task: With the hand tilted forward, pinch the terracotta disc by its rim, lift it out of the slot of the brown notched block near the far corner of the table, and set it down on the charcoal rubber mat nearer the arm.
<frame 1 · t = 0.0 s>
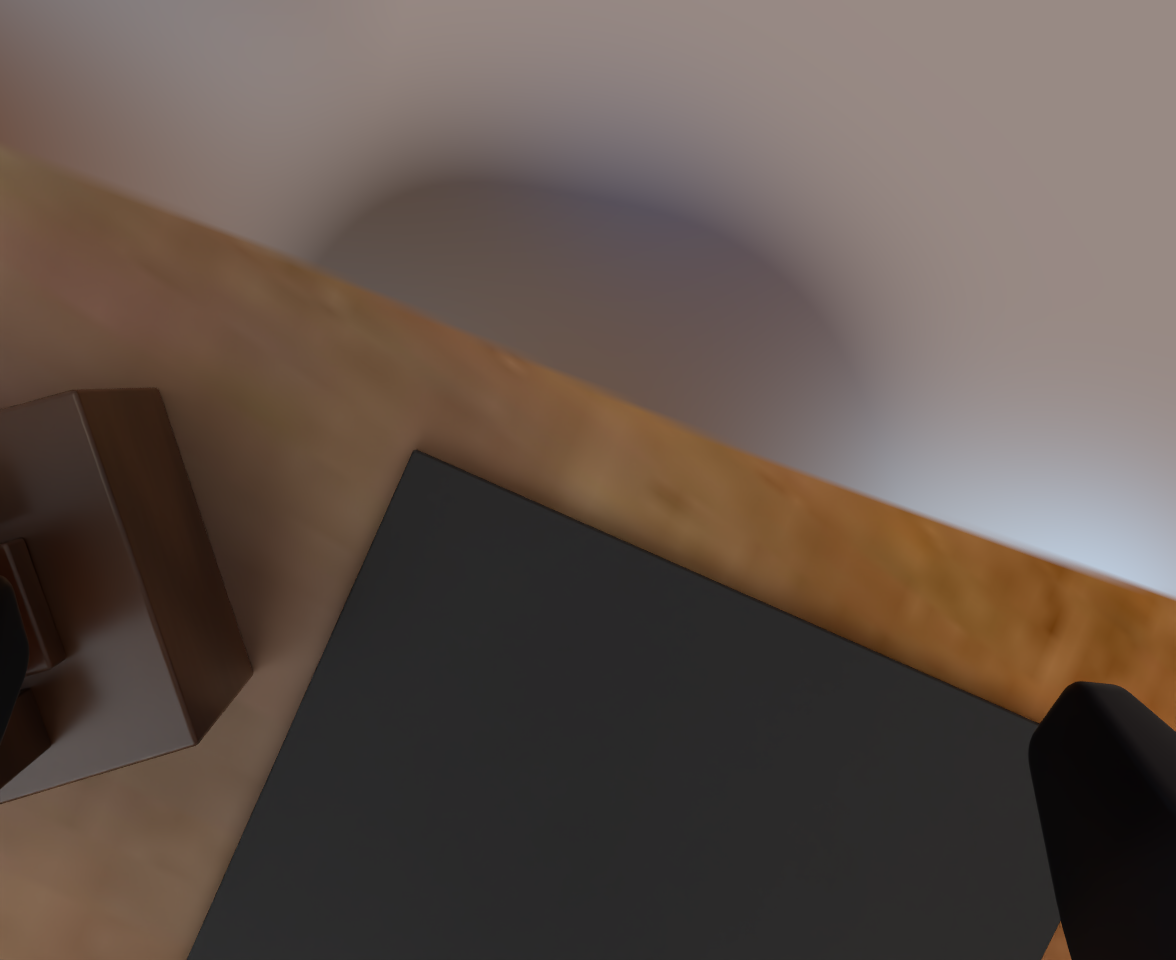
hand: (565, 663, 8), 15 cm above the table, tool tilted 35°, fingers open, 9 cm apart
mat: (672, 865, 24), on the table
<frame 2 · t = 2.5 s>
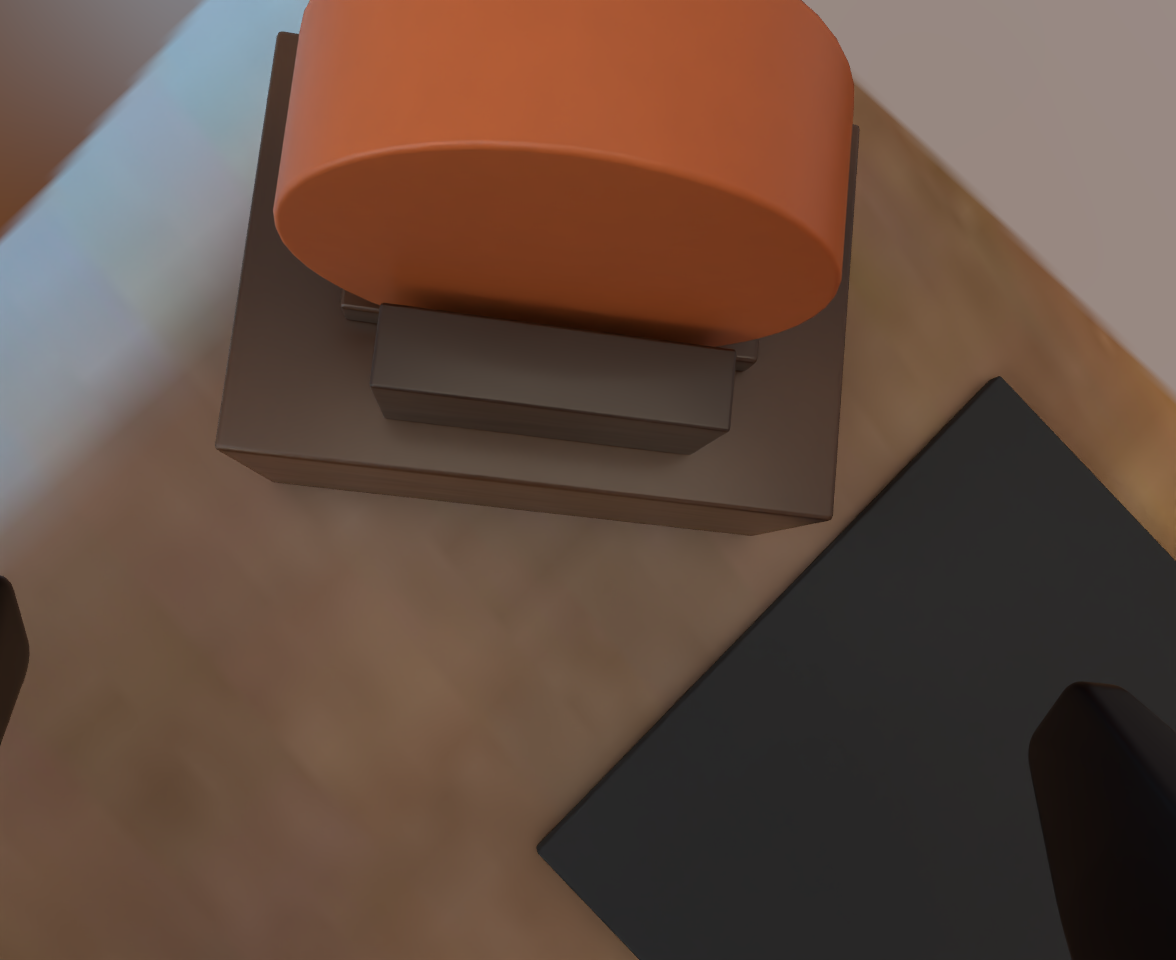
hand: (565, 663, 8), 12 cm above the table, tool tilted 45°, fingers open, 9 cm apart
disc: (557, 276, 16), point 5 cm above the table, touching brown notched block
brown notched block: (537, 344, 21), on the table
mat: (1102, 943, 21), on the table
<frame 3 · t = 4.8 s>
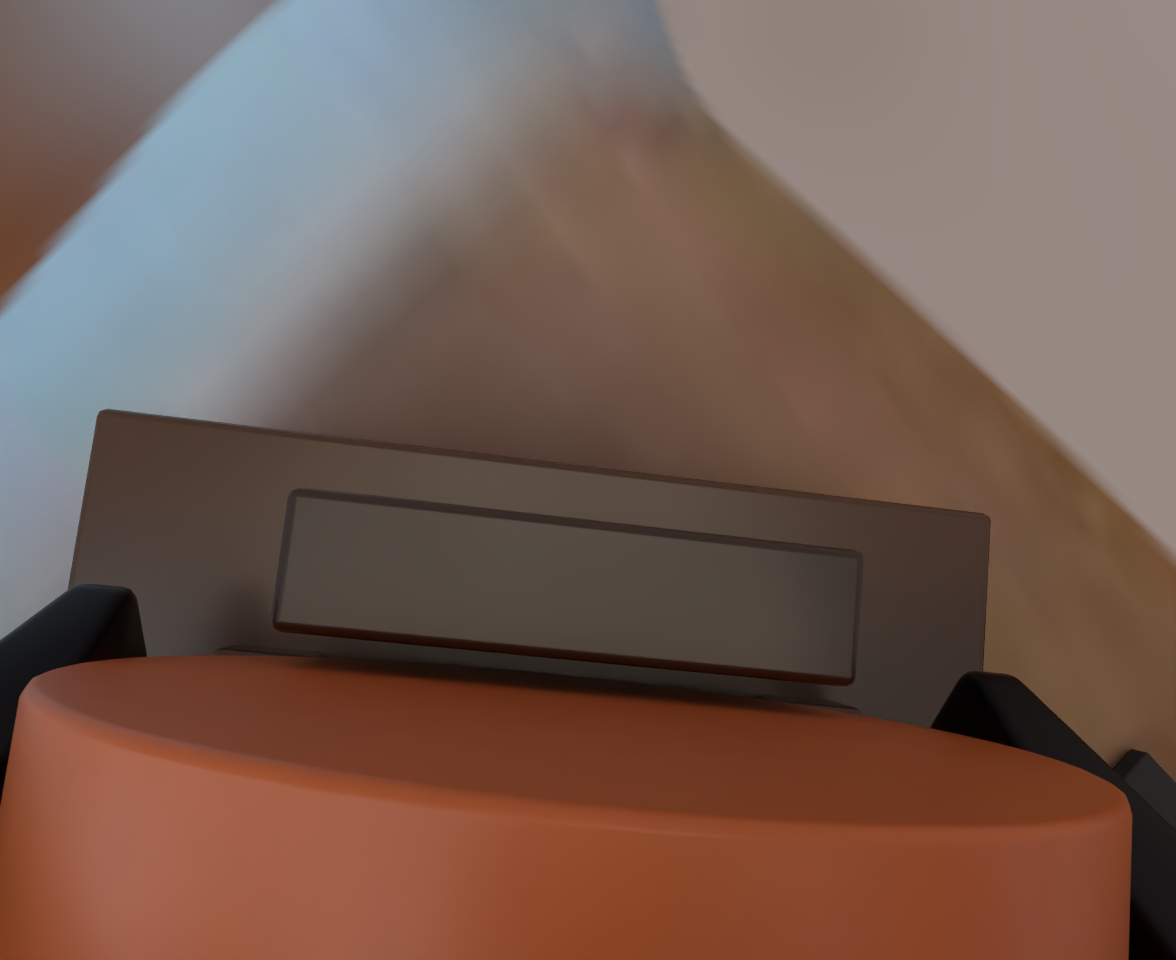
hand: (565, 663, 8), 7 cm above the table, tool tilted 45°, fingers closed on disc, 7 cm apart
disc: (530, 787, 10), point 5 cm above the table, touching gripper, brown notched block
brown notched block: (512, 729, 15), on the table
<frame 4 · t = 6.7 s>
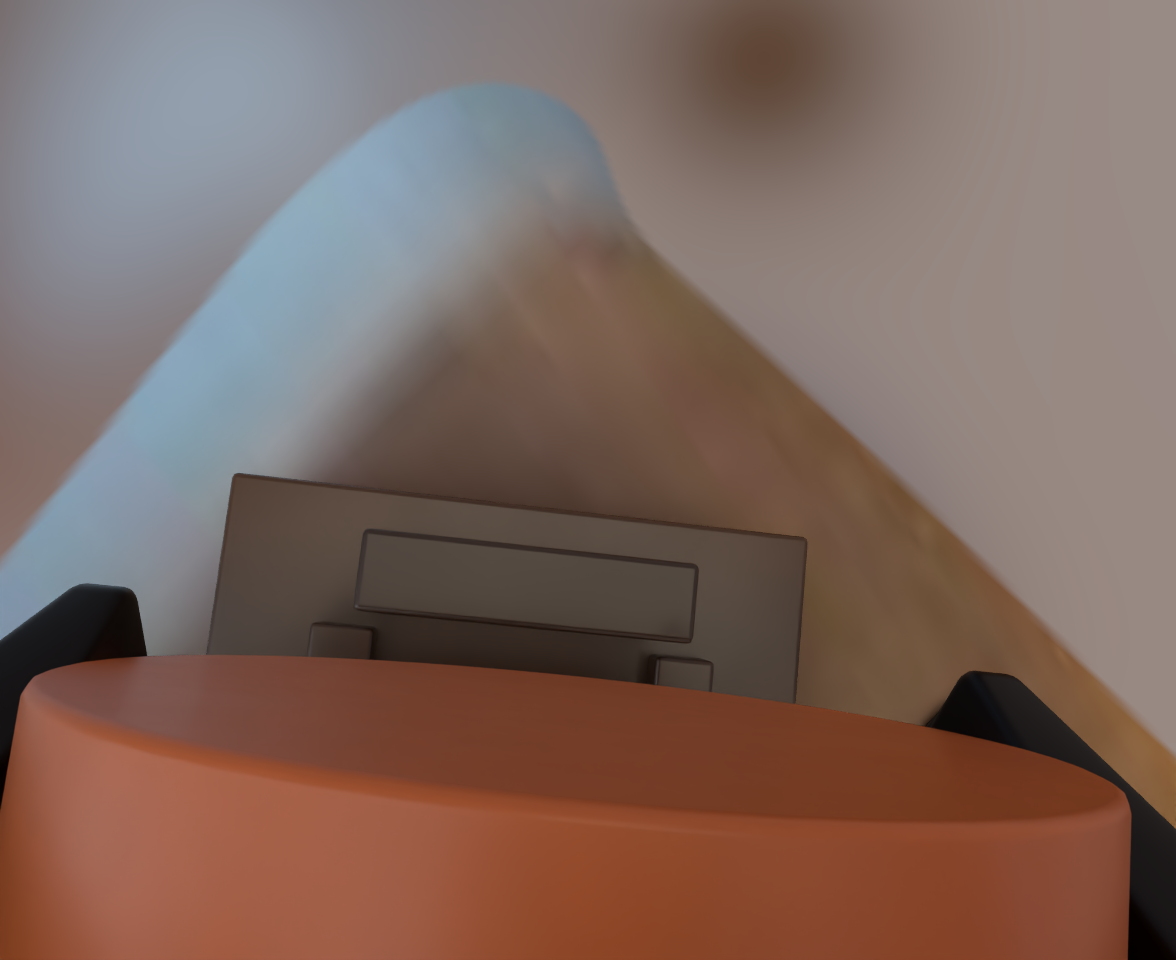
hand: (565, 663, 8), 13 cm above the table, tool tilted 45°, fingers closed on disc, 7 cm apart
disc: (530, 787, 10), point 11 cm above the table, touching gripper
brown notched block: (498, 685, 21), on the table
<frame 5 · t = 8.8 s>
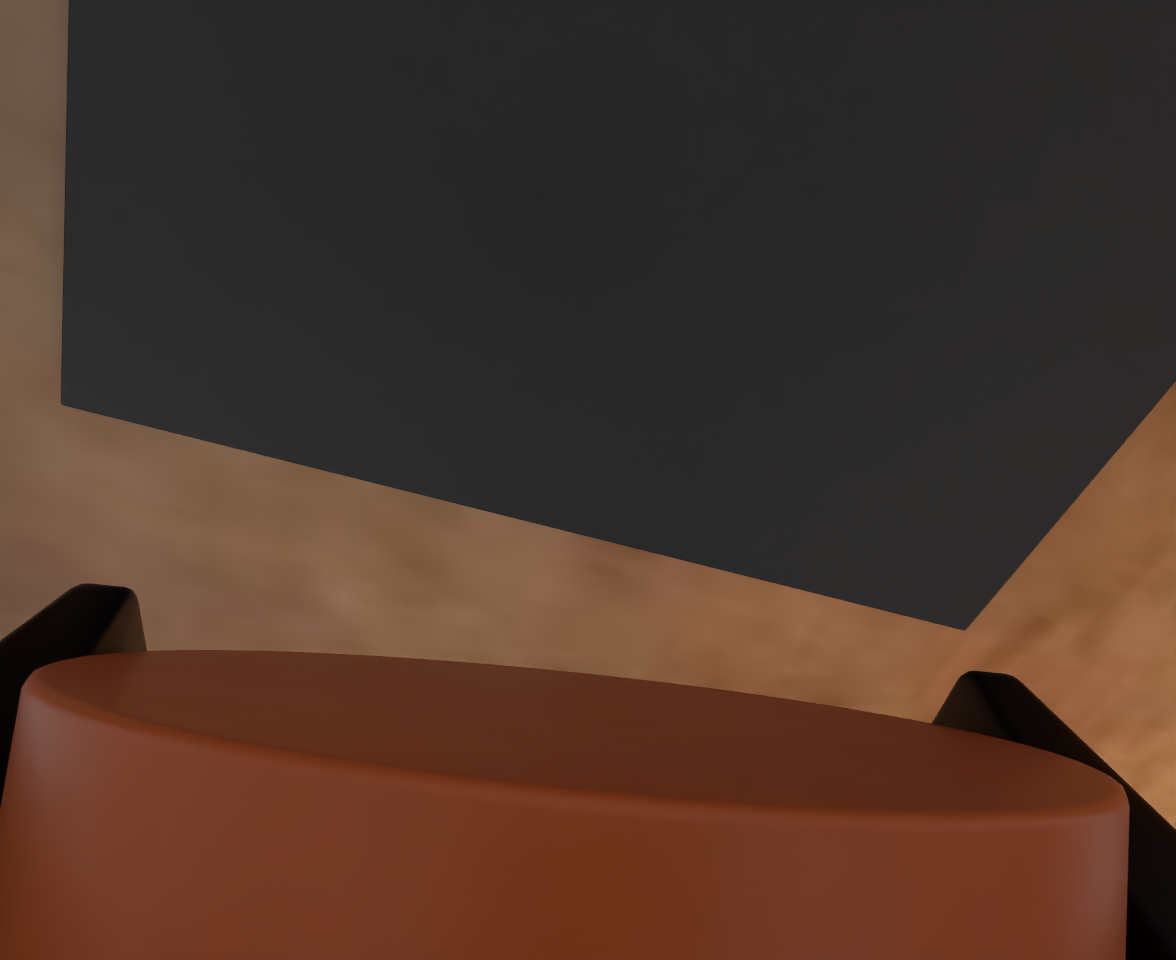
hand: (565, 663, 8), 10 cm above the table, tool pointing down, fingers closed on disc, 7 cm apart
disc: (530, 783, 10), point 10 cm above the table, tilted 46°, touching gripper
mat: (685, 227, 17), on the table
when the fingers open (2 cm above the table, at t = 11.5 s): disc stays where it is and tips over, resting on mat.
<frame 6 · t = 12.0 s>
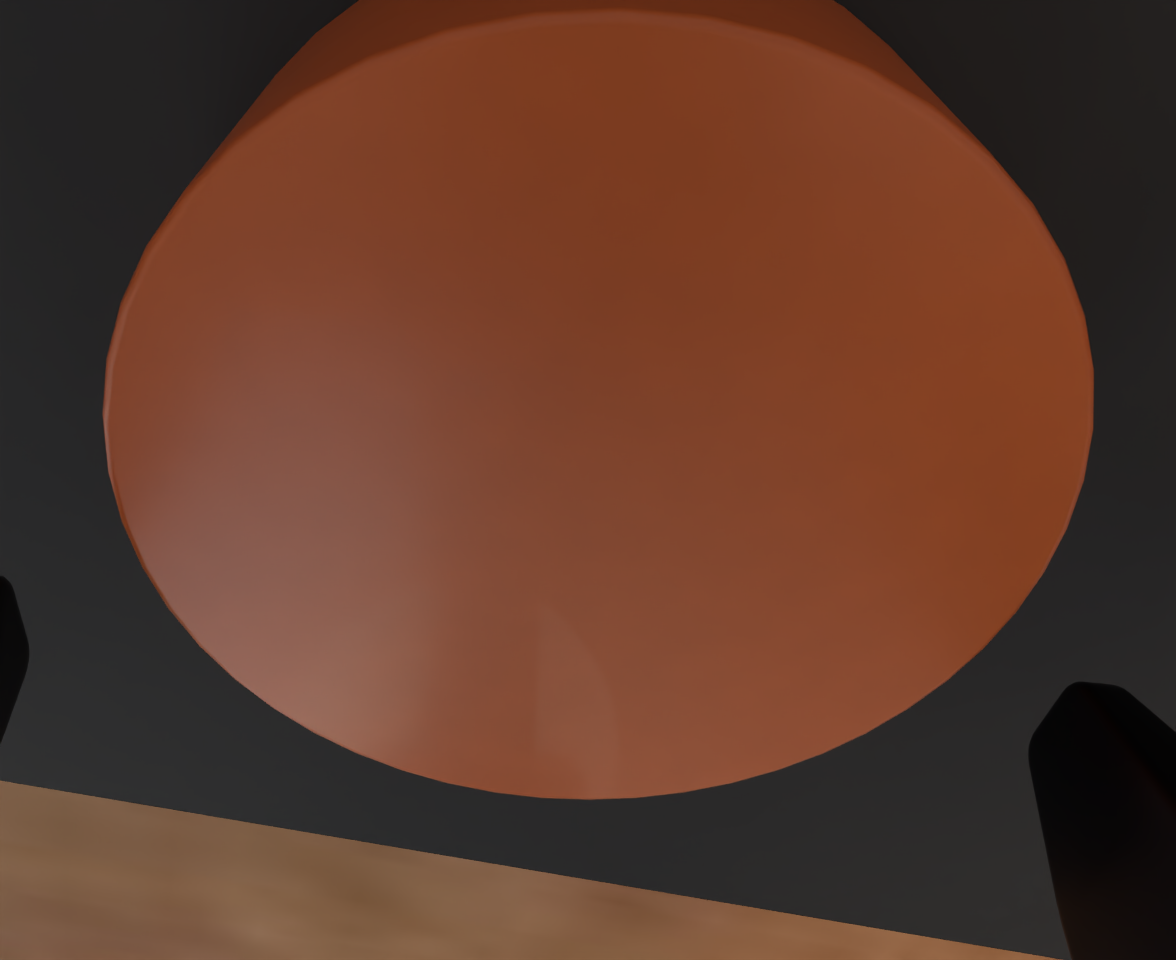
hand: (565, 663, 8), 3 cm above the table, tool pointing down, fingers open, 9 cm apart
disc: (543, 700, 10), point 2 cm above the table, tilted 90°, touching mat
mat: (749, 521, 11), on the table
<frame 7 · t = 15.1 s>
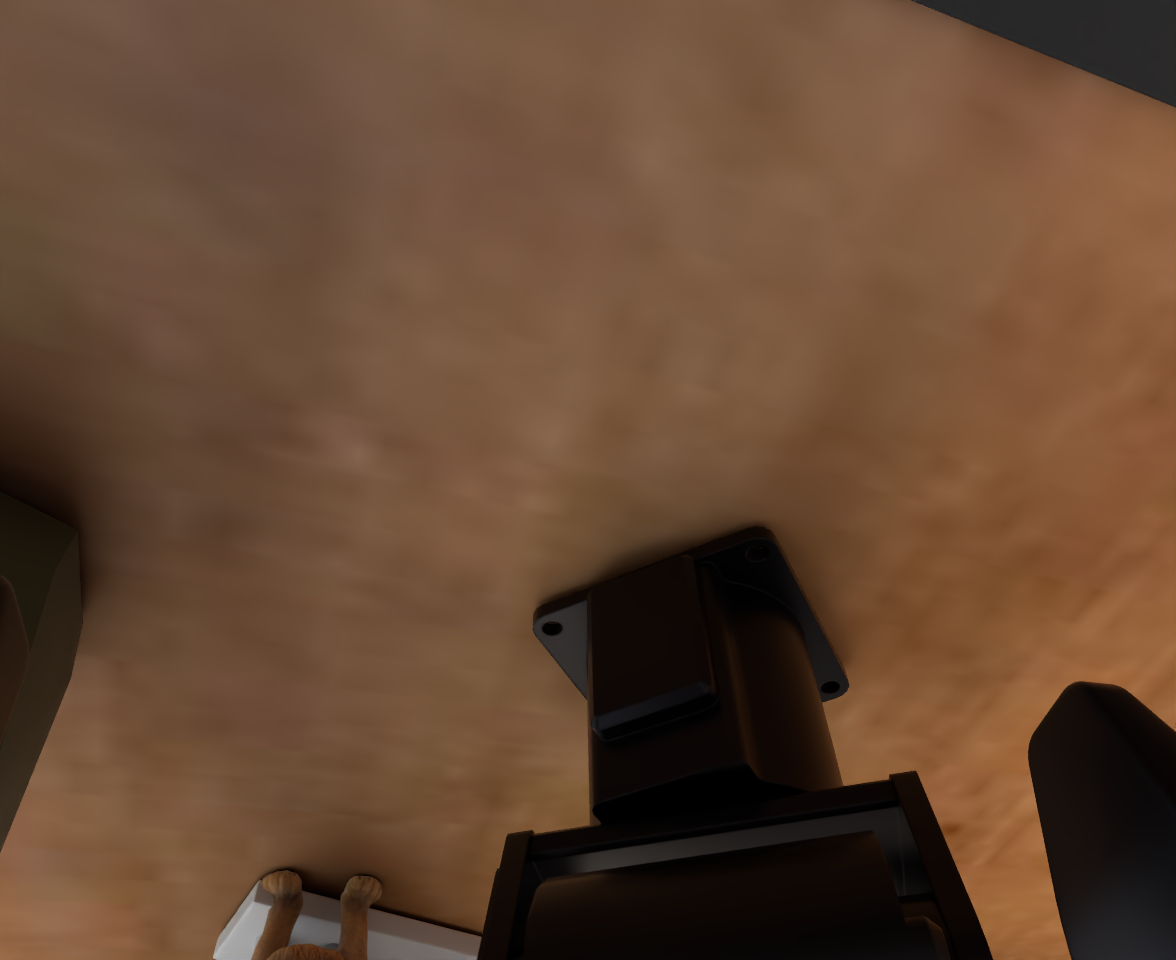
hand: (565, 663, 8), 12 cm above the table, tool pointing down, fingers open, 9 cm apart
lion figurine: (292, 911, 34), on the table, touching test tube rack
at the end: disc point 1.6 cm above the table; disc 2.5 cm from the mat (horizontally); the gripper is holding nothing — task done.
